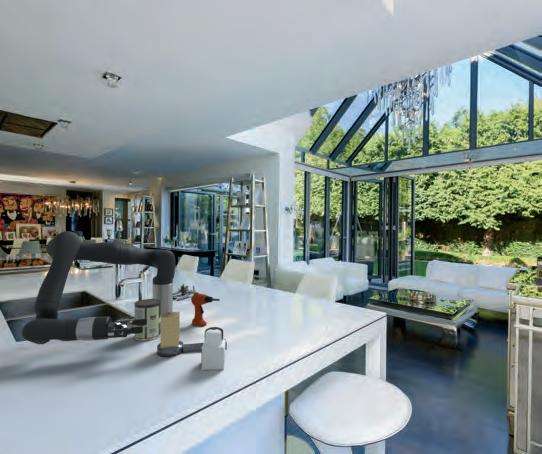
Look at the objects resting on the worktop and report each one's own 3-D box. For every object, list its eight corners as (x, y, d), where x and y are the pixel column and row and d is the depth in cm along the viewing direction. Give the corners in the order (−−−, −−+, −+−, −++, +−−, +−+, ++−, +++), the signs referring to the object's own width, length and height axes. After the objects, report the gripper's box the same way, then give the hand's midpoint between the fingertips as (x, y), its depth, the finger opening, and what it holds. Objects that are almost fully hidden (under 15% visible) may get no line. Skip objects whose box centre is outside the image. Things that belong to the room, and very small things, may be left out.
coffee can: (146, 330, 133) (146, 297, 133) (166, 333, 130) (166, 300, 130) (128, 338, 123) (128, 303, 123) (149, 342, 120) (149, 306, 120)
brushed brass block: (160, 348, 108) (160, 317, 108) (162, 342, 114) (162, 312, 114) (178, 347, 109) (178, 316, 109) (179, 341, 115) (179, 311, 115)
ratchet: (155, 358, 106) (155, 336, 106) (158, 347, 115) (158, 327, 115) (227, 352, 112) (227, 331, 112) (225, 342, 120) (225, 323, 120)
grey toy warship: (183, 292, 203) (158, 303, 187) (182, 282, 202) (156, 292, 186) (198, 295, 196) (173, 307, 179) (197, 285, 195) (172, 295, 178)
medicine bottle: (204, 360, 105) (204, 325, 105) (225, 360, 105) (225, 324, 105) (201, 370, 98) (201, 332, 98) (223, 369, 98) (224, 332, 98)
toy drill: (217, 329, 131) (214, 294, 132) (189, 325, 142) (187, 293, 143) (225, 326, 134) (222, 292, 135) (198, 323, 146) (195, 291, 147)
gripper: (87, 324, 99) (141, 321, 102) (100, 311, 113) (148, 309, 116) (87, 347, 99) (141, 343, 103) (100, 332, 113) (148, 329, 116)
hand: (145, 325), depth 109 cm, fingers open, 8 cm apart
